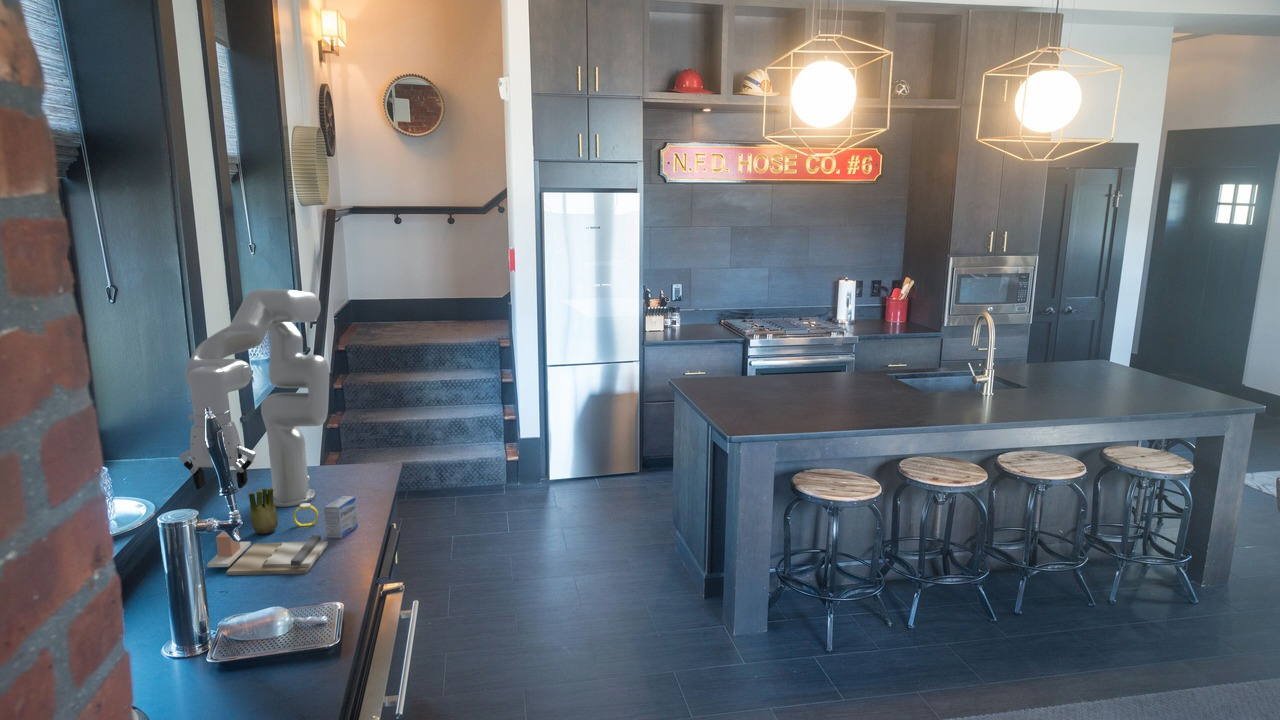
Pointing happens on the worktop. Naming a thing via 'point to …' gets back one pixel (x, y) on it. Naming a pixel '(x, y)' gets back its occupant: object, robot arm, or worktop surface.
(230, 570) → the board
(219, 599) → the worktop surface
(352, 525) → the medicine box
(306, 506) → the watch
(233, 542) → the terracotta pink brick
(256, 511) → the fennel bulb
